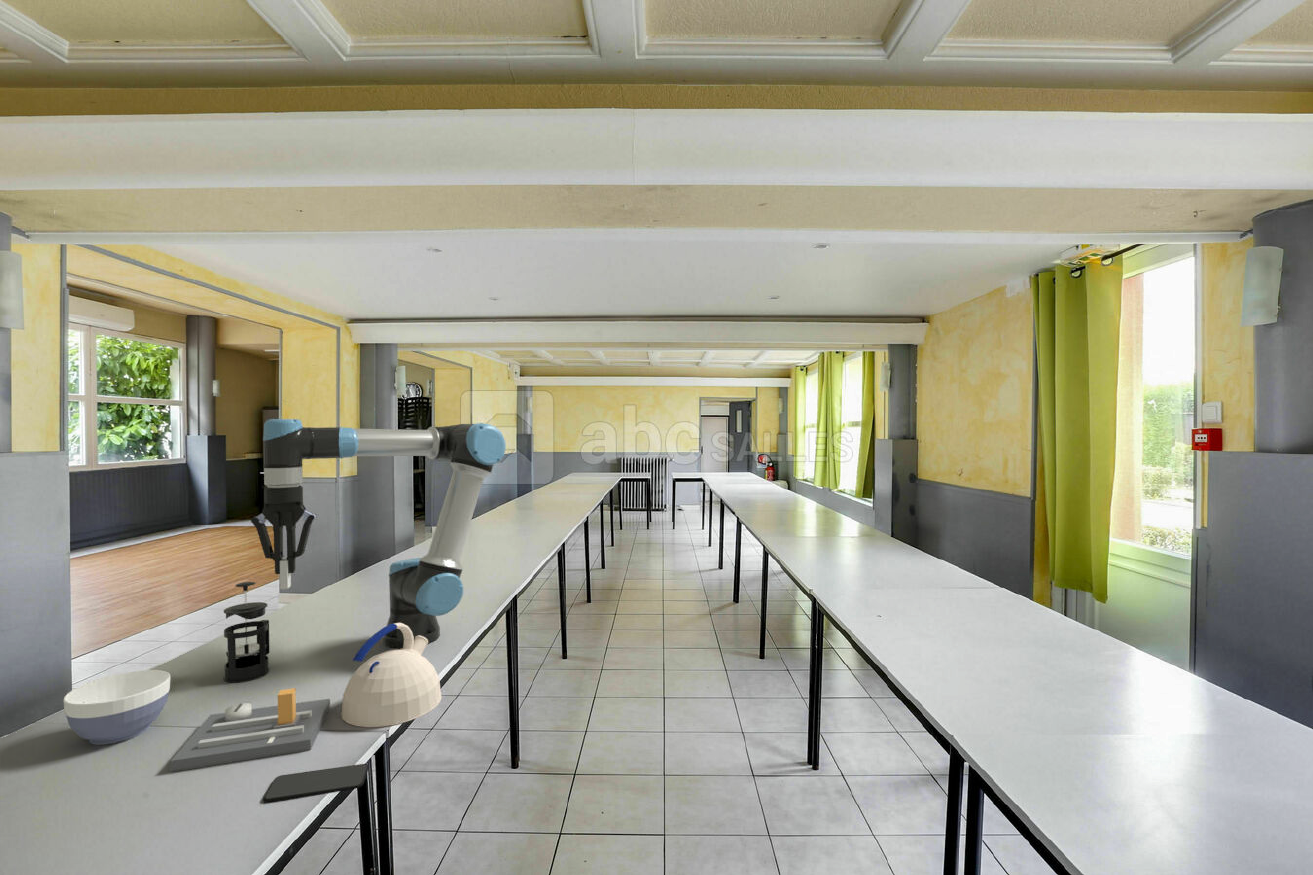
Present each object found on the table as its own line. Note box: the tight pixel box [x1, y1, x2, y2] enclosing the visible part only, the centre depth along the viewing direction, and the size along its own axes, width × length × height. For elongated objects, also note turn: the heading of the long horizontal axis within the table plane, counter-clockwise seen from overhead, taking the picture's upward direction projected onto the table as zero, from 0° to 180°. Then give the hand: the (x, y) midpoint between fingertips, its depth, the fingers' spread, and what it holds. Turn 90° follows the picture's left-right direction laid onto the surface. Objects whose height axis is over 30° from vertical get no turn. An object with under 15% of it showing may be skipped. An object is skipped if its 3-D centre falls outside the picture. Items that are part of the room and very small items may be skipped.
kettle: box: [340, 623, 442, 728], centre depth 131 cm, size 20×21×18 cm
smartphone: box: [263, 763, 369, 804], centre depth 102 cm, size 7×1×15 cm
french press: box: [223, 581, 271, 684], centre depth 148 cm, size 12×9×23 cm
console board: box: [170, 698, 331, 773], centre depth 118 cm, size 22×18×4 cm
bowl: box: [63, 669, 171, 746], centre depth 119 cm, size 16×16×10 cm
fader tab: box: [273, 688, 300, 729], centre depth 117 cm, size 4×4×7 cm
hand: (285, 587), depth 137 cm, fingers closed
